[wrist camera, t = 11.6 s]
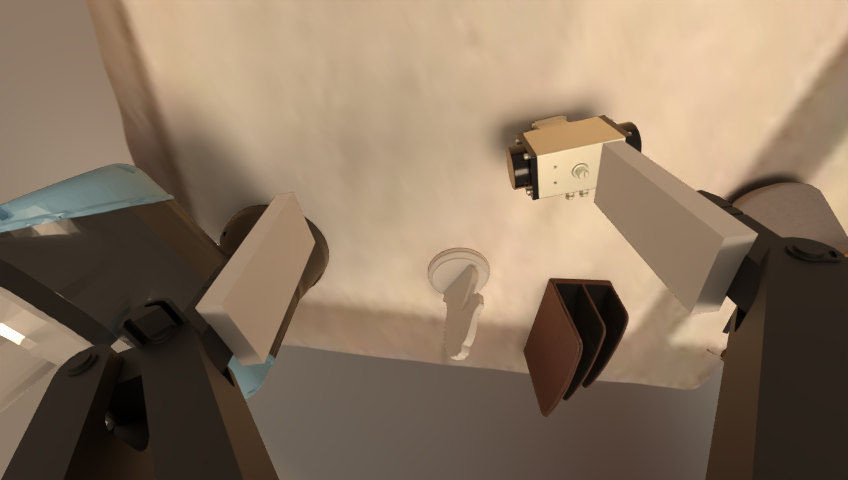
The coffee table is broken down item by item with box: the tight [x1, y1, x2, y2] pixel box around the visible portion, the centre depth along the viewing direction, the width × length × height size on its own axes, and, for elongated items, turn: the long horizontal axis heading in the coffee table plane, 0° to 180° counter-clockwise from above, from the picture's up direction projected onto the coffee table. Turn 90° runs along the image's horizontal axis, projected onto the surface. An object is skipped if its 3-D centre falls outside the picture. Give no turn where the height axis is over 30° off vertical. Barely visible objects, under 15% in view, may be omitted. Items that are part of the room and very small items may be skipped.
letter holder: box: [524, 279, 629, 417], centre depth 55 cm, size 10×20×14 cm, turn 178°
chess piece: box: [428, 248, 490, 360], centre depth 48 cm, size 10×10×15 cm
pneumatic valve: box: [506, 115, 642, 200], centre depth 36 cm, size 6×12×12 cm, turn 103°
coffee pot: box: [707, 182, 848, 361], centre depth 43 cm, size 21×12×15 cm, turn 149°
